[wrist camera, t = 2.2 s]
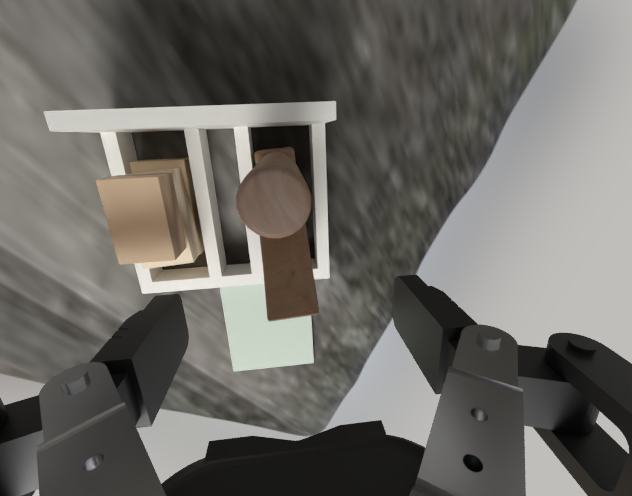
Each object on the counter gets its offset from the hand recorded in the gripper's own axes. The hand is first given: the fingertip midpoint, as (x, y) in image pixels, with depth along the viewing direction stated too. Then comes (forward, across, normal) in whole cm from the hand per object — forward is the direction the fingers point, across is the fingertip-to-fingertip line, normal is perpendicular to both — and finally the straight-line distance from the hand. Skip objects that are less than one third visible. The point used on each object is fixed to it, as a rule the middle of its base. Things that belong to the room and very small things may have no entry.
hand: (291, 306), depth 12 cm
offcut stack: (+22, +11, 0) cm, 25 cm away
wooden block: (+22, 0, 0) cm, 22 cm away
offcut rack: (+22, +5, 0) cm, 23 cm away
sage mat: (+22, +3, +15) cm, 27 cm away
